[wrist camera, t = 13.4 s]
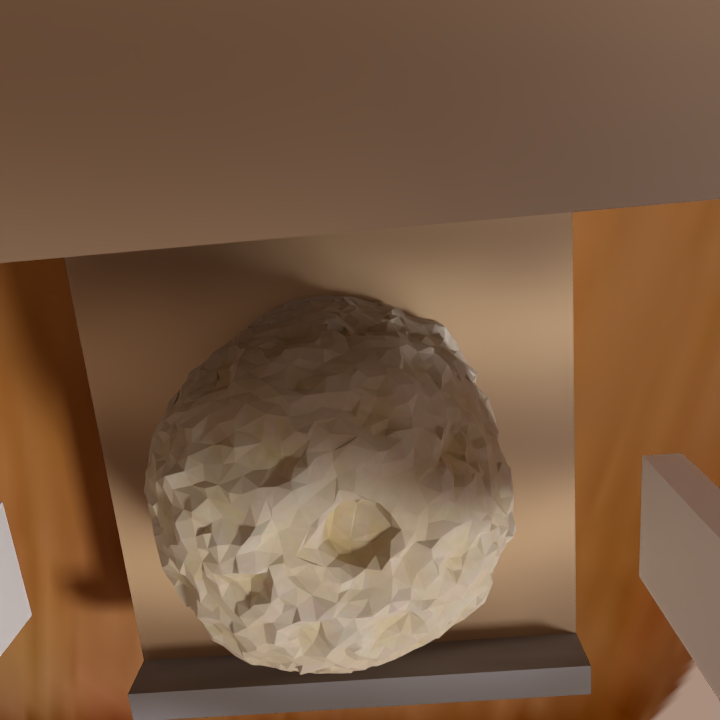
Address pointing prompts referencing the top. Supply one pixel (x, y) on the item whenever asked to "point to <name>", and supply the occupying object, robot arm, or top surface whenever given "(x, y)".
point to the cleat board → (347, 249)
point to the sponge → (330, 487)
